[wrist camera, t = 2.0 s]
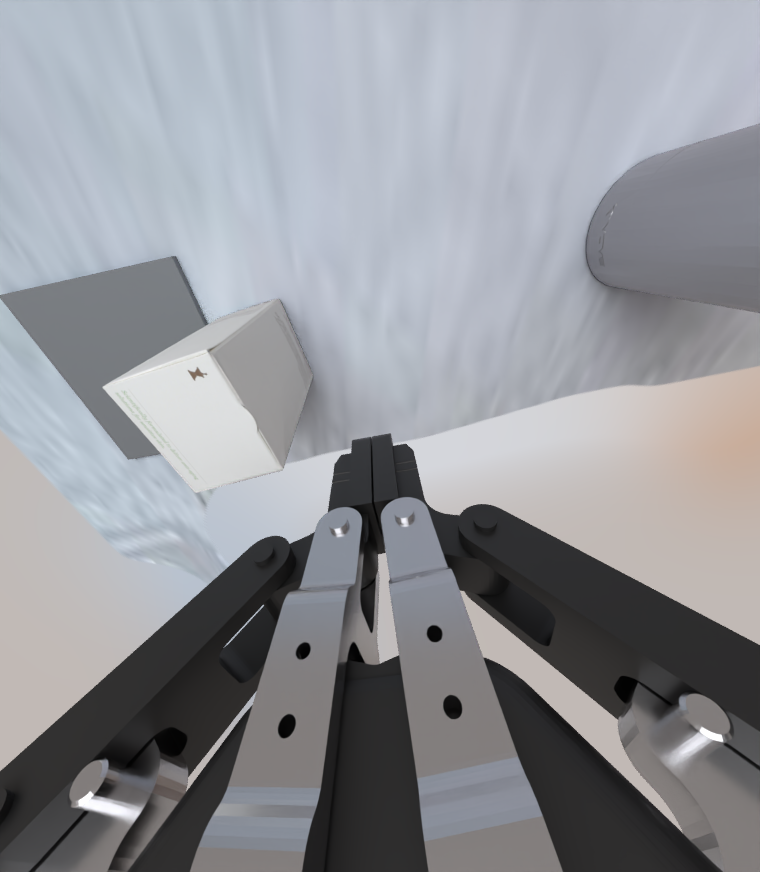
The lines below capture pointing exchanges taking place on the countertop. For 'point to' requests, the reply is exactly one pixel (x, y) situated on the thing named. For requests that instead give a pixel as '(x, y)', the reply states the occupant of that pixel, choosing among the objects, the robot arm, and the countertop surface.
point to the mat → (109, 332)
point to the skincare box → (222, 397)
